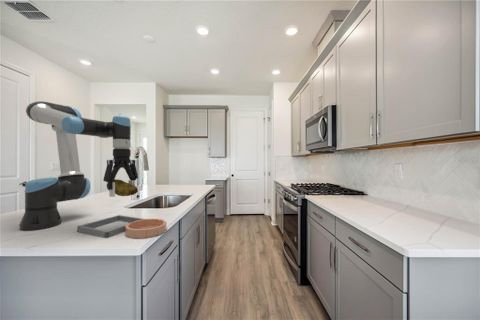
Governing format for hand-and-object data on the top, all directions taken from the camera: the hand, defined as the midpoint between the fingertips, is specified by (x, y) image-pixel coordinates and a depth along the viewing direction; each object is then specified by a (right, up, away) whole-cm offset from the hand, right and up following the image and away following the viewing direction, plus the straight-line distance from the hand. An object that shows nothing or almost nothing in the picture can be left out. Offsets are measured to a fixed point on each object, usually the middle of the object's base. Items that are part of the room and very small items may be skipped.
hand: (122, 194), depth 102 cm
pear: (0, -1, 0) cm, 1 cm away
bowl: (+13, -17, -4) cm, 22 cm away
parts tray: (-5, -16, +2) cm, 17 cm away
